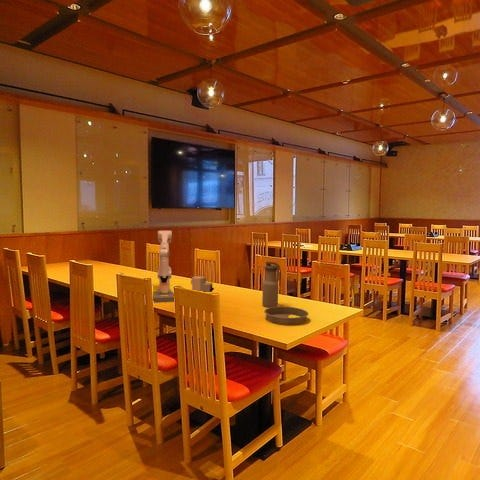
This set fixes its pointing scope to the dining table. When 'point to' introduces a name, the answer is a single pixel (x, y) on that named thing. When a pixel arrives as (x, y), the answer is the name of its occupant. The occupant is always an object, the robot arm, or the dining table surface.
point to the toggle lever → (164, 288)
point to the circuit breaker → (201, 284)
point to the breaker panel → (163, 296)
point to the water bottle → (271, 285)
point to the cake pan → (285, 315)
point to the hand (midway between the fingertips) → (164, 286)
